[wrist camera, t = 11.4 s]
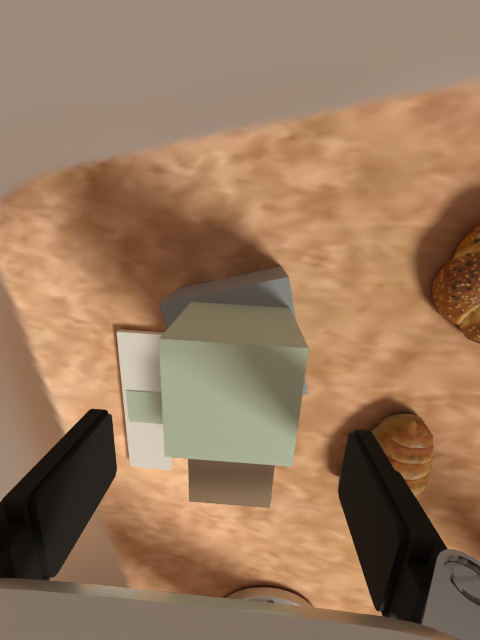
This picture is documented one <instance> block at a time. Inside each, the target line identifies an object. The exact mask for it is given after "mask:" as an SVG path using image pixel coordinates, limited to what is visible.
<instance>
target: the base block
mask: <svg viewBox="0 0 480 640" xmlns="http://www.w3.org/2000/svg"><path fill="white" fill-rule="evenodd" d="M191 302H202V303H219V304H236V305H253V306H270V307H287V308H290V309H291V311H292V313H293V316H294V318H295V312H294V306H293V300H292V294H291V288H290V282H289V277H288V275H287V274H286V272H285V271H284V269H283V268H282V267H281V266H280V267H275V268H270V269H265V270H260V271H256V272H251V273H246V274H241V275H237V276H232V277H227V278H222V279H218V280H213V281H208V282H203V283H199V284H194V285H189V286H184V287H180V288H178V289H177V290H176V291H174V292H173V293H172V294H171V295H169V296H168V297H167V298H165V299H164V300H163V301H162V302H160V303H159V304H160V307H161V311H162V314H163V317H164V320H165V323H166V326H167V329H168V328H169V327H170V326H171V324H172V323H173V322H174V321H175V320H176V319H177V318H178V316H179V315H180V314H181V313H182V312H183V311H184V310H185V308H186V307H187V306H188V305H189V304H190V303H191ZM295 320H296V318H295ZM303 394H308V392H307V386H306V379H305V377H304V385H303V392H302V395H303Z"/></svg>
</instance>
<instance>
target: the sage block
mask: <svg viewBox="0 0 480 640" xmlns="http://www.w3.org/2000/svg"><path fill="white" fill-rule="evenodd" d="M159 351H160V372H161V393H162V414H163V435H164V455H165V457H174V458H187V459H200V460H212V461H225V462H238V463H251V464H264V465H277V466H290V467H292V465H293V458H294V450H295V443H296V436H297V429H298V421H299V414H300V407H301V399H302V392H303V385H304V377H305V370H306V363H307V355H308V346H307V344H306V342H305V340H304V337H303V335H302V333H301V331H300V329H299V327H298V324H297V322H296V320H295V318H294V316H293V313H292V311H291V309H290V308H287V307H270V306H253V305H236V304H219V303H202V302H191V303H190V304H189V305H188V306H187V307H186V308H185V310H184V311H183V312H182V313H181V314H180V315H179V316H178V318H177V319H176V320H175V321H174V322H173V323H172V324H171V326H170V327H169V328H168V329H167V330H166V331H165V332H164V334H163V335H162V336H161V337H160V338H159Z"/></svg>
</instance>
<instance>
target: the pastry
mask: <svg viewBox="0 0 480 640" xmlns="http://www.w3.org/2000/svg"><path fill="white" fill-rule="evenodd" d="M371 432H372V433H373V434H374V436H375V438H376V439H377V441H378V443H379V444H380V446H381V448H382V449H383V451H384V453H385V454H386V456H387V458H388V459H389V461H390V463H391V464H392V466H393V468H394V469H395V470H397V471H398V472H400V474H401V475H402V476H403V478H404V480H405V481H406V483H407V484H408V486H409V488H410V489H411V491H412V492H413V494H414V496H415V497H416V499H418V497H419V495H420V493H422V492H423V491H424V490H425V488H426V486H427V480H428V478H429V473H430V470H431V461H432V451H433V435H432V434H431V432H430V430H429V429H428V428H427V426H426V425H425V423H424V421H423V420H422V418H420V417H419V416H415V415H412V414H397V415H390V416H388V417H386V418H384V419H383V420H382V421H381V422H380V424H379V425H378V426H377V427H375V428H374V429H372V430H371ZM340 477H341V473H340ZM339 482H340V478H339Z"/></svg>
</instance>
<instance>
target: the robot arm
mask: <svg viewBox="0 0 480 640" xmlns="http://www.w3.org/2000/svg"><path fill="white" fill-rule="evenodd" d="M116 471H117V465H116V455H115V444H114V433H113V423H112V415H111V414H108V411H107V410H101V409H90V410H89V411H88V412H87V413H86V414H85V415H84V416H83V417H82V418H81V419H80V420H79V421H78V422H77V423H76V424H75V425H74V426H73V427H72V428H71V429H70V430H69V431H68V432H67V434H66V435H65V436H64V437H63V438H62V439H61V440H60V441H59V442H58V443H57V444H56V445H55V446H54V447H53V448H52V449H51V450H50V451H49V452H48V453H47V454H46V455H45V456H44V457H43V458H42V459H41V460H40V461H39V462H38V463H37V464H36V465H35V466H34V467H33V468H32V469H31V470H30V471H29V472H28V473H27V475H26V476H25V477H24V478H23V479H22V480H21V481H20V482H19V483H18V484H17V485H16V486H15V487H14V488H13V489H12V490H11V491H10V492H9V493H8V494H7V495H6V496H5V497H4V498H3V500H2V501H1V502H0V640H480V562H479V561H478V560H477V559H475V558H474V557H472V556H470V555H468V554H466V553H464V552H461V551H458V550H454V549H447V547H446V546H445V544H444V543H443V541H442V539H441V538H440V536H439V534H438V533H437V531H436V530H435V528H434V526H433V525H432V523H431V522H430V520H429V518H428V517H427V515H426V513H425V512H424V510H423V509H422V507H421V505H420V504H419V502H418V501H417V499H416V497H415V496H414V494H413V492H412V491H411V489H410V488H409V486H408V484H407V483H406V481H405V480H404V478H403V476H402V475H401V474H400V472H398V471H397V470H395V469H394V468H393V466H392V464H391V463H390V461H389V459H388V458H387V456H386V454H385V453H384V451H383V449H382V448H381V446H380V444H379V443H378V441H377V439H376V438H375V436H374V434H373V433H372V432H371V431H368V430H354V431H353V433H349V436H348V440H347V446H346V451H345V456H344V461H343V466H342V472H341V477H340V482H339V487H338V493H339V499H340V502H341V505H342V508H343V511H344V514H345V518H346V521H347V524H348V527H349V530H350V533H351V536H352V539H353V542H354V545H355V549H356V552H357V555H358V558H359V561H360V564H361V567H362V570H363V573H364V577H365V580H366V583H367V586H368V589H369V592H370V595H371V598H372V601H373V604H374V607H375V609H376V610H377V611H381V613H382V616H375V615H368V614H360V613H353V612H345V611H338V610H330V609H321V608H313V607H312V606H311V605H310V604H309V603H308V602H307V601H306V600H305V599H303V598H302V597H300V596H298V595H296V594H294V593H291V592H289V591H286V590H282V589H278V588H270V587H255V588H247V589H243V590H240V591H237V592H235V593H232V594H231V595H229V596H228V597H226V598H221V597H211V596H202V595H192V594H183V593H173V592H163V591H153V590H143V589H133V588H122V587H111V586H102V585H92V584H81V583H72V582H59V581H49V579H50V578H51V577H54V576H56V575H57V573H58V572H59V570H60V569H61V567H62V565H63V564H64V562H65V560H66V559H67V557H68V555H69V554H70V552H71V550H72V549H73V547H74V545H75V544H76V542H77V540H78V538H79V537H80V535H81V533H82V532H83V530H84V528H85V527H86V525H87V523H88V521H89V520H90V518H91V517H92V515H93V513H94V512H95V510H96V508H97V506H98V505H99V503H100V501H101V500H102V498H103V496H104V495H105V493H106V491H107V490H108V488H109V486H110V485H111V483H112V481H113V480H114V478H115V475H116Z"/></svg>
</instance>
